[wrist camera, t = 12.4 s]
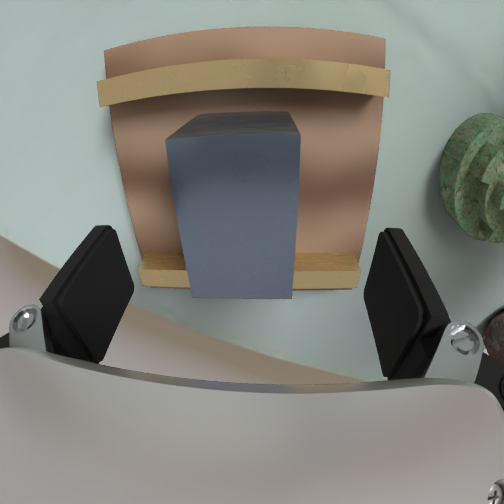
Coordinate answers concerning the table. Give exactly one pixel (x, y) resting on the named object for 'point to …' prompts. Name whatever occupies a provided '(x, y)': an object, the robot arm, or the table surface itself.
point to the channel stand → (246, 100)
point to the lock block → (237, 202)
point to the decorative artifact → (475, 177)
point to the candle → (495, 338)
